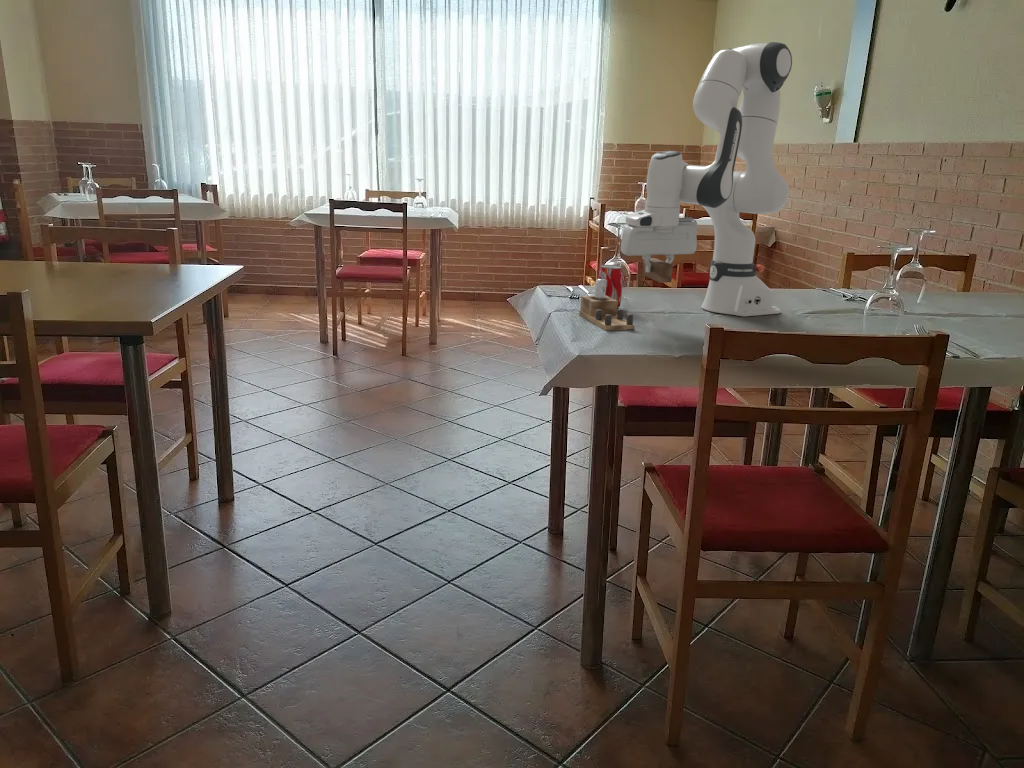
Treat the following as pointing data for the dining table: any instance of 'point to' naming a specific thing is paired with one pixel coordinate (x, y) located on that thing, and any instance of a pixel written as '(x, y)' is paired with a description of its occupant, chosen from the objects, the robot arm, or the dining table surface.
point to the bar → (659, 271)
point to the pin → (600, 289)
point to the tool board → (613, 322)
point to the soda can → (612, 281)
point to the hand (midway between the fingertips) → (657, 271)
